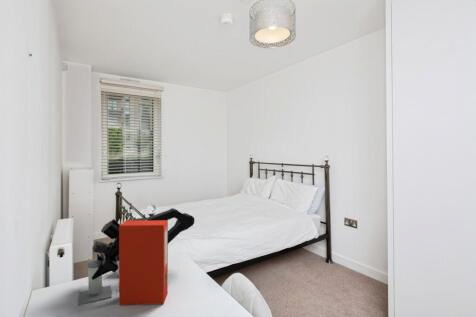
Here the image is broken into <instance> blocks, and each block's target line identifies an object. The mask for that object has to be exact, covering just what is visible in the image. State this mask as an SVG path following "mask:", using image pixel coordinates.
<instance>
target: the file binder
mask: <svg viewBox="0 0 476 317" xmlns="http://www.w3.org/2000/svg"><path fill="white" fill-rule="evenodd" d="M168 231H169V221H168V220H154V221H131V220H125V221H124V222H122V223H120V225H119V256H118V261H119V276H118V285H119V286H118V288H119V290H118V296H119V298H118V305H119V306H134V305H135V306H139V305H164V304H165V302H166V298H167V296H168V287H169V286H168V284H169V283H168V282H169V280H168V278H169V277H168V270H169V269H168V267H169V266H168V260H169V259H168V258H169V256H168V255H169V254H168V253H169V251H168V250H169V249H168V248H169V247H168V246H169V243H168Z"/></svg>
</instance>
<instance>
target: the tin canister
mask: <svg viewBox="0 0 476 317" xmlns="http://www.w3.org/2000/svg"><path fill="white" fill-rule="evenodd" d="M100 261H101V260H97V259H95V260H91V261H89V262H88V263H87V270H88V271H87V272H88V274H87V275H88V276H87V277H88V278H87V282H88V284H87V285H88V290H89V294H96V293H99V292H100V291H102V287H103V275H102V276H100V277H98V278H96V279H94V280H93V279H92V276H93V275H94V273H95V272H96V271H97V269H98V268H99V266H100ZM101 262H102V261H101Z"/></svg>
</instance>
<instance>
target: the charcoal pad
mask: <svg viewBox="0 0 476 317" xmlns="http://www.w3.org/2000/svg"><path fill="white" fill-rule="evenodd" d="M108 299H112V286H111V285H110V284H109V285H105V286H102V291H100V292H99V293H96V294H89V289H86V290H82V291H79V294H78V300H77V306H82V305H86V304H91V303H95V302H99V301H103V300H108Z"/></svg>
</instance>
